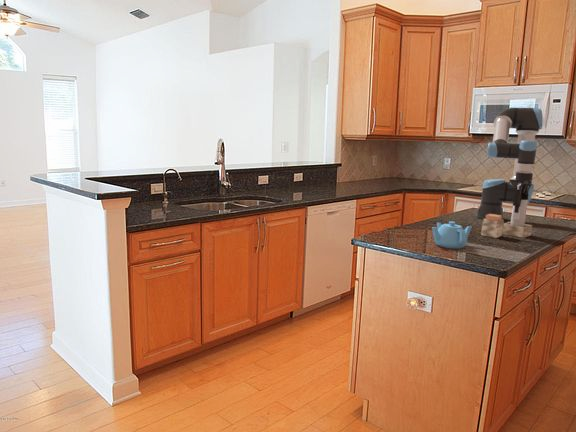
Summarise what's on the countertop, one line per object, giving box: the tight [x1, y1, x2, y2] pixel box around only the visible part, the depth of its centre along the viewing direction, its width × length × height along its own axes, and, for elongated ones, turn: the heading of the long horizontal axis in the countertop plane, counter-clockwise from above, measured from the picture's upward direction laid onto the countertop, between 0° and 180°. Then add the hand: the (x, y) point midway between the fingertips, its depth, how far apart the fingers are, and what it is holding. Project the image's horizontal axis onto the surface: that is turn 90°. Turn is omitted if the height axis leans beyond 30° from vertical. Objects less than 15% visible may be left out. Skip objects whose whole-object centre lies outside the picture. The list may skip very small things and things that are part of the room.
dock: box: [480, 219, 533, 239], centre depth 231 cm, size 16×22×8 cm
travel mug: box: [510, 193, 529, 227], centre depth 232 cm, size 6×7×20 cm
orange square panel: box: [485, 214, 502, 222], centre depth 228 cm, size 6×6×3 cm
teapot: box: [431, 220, 473, 250], centre depth 206 cm, size 15×15×11 cm
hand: (518, 218), depth 233 cm, fingers closed on travel mug, 6 cm apart
